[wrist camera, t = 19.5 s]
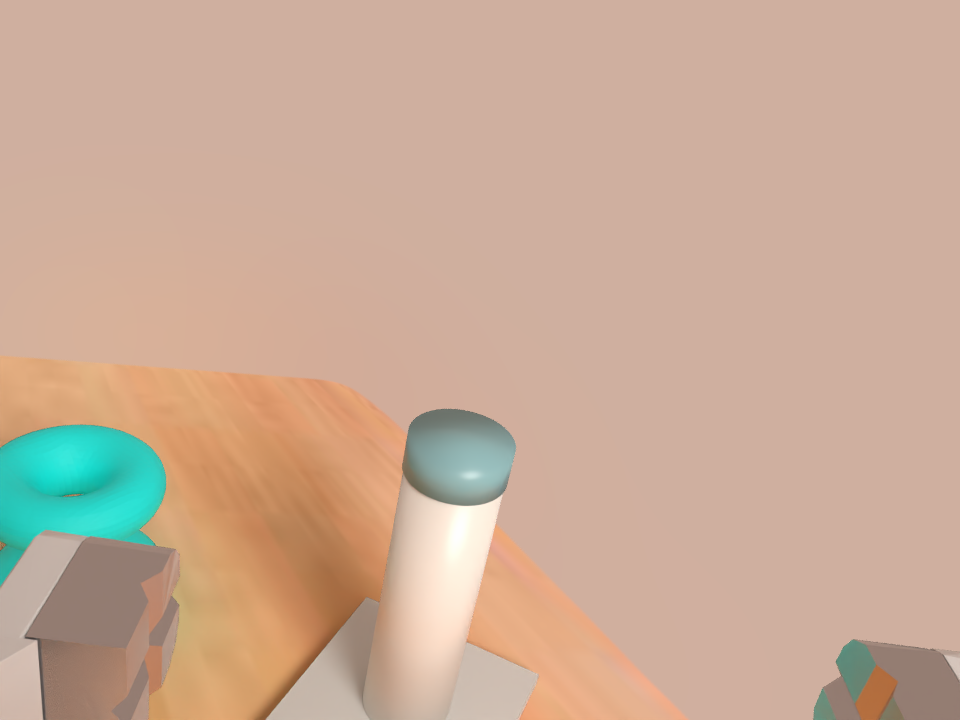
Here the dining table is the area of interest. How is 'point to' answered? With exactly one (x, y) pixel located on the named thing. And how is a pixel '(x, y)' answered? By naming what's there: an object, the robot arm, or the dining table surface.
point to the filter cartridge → (435, 561)
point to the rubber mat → (343, 668)
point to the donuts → (76, 487)
